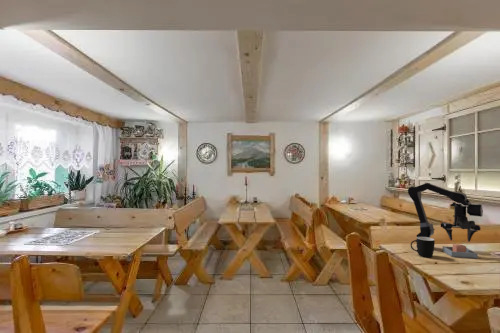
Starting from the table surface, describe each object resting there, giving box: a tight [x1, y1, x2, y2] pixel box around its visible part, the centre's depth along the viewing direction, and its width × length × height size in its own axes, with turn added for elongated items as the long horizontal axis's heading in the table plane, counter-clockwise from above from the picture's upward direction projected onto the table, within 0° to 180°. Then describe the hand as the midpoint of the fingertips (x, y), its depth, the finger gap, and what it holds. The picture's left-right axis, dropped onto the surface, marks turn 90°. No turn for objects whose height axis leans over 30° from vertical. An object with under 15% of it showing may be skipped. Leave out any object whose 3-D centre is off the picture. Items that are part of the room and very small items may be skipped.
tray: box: [442, 246, 478, 260], centre depth 175 cm, size 13×12×3 cm
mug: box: [410, 236, 436, 259], centre depth 172 cm, size 12×9×10 cm
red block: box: [452, 243, 467, 252], centre depth 175 cm, size 5×5×5 cm
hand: (459, 241), depth 175 cm, fingers open, 9 cm apart
